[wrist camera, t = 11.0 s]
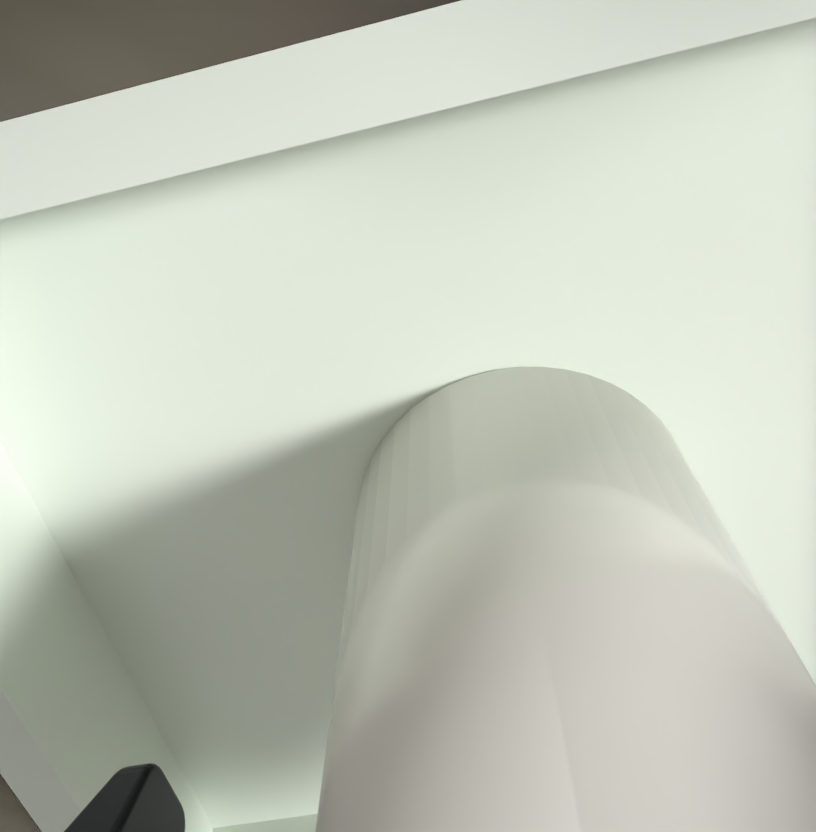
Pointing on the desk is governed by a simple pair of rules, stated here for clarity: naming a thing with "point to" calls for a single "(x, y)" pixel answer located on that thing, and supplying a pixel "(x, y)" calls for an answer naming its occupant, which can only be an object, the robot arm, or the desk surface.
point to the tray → (368, 347)
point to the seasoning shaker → (556, 631)
